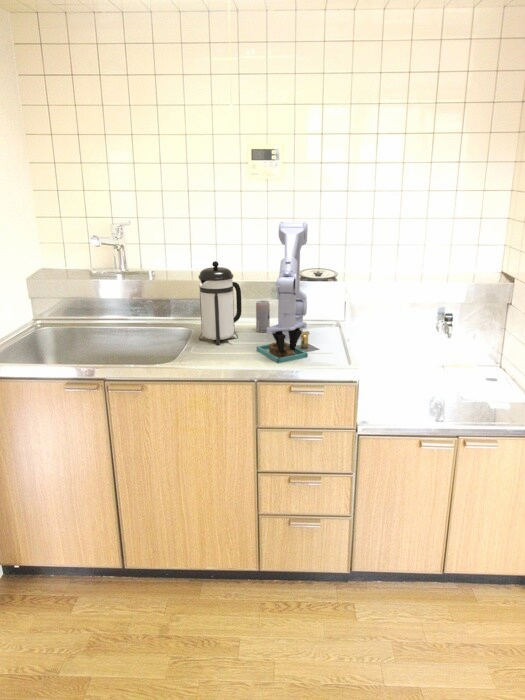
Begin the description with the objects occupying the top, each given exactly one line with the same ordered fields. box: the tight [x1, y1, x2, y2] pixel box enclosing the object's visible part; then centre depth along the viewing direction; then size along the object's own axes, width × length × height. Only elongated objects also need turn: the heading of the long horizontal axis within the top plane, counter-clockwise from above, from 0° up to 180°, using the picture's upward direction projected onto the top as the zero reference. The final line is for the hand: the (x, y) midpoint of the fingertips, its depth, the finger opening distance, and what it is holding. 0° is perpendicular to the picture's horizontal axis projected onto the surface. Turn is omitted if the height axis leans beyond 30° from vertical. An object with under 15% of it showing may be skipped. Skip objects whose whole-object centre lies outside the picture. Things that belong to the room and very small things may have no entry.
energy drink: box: [255, 300, 271, 334], centre depth 205 cm, size 5×5×12 cm
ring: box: [268, 342, 295, 358], centre depth 177 cm, size 11×7×3 cm, turn 29°
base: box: [296, 343, 321, 353], centre depth 183 cm, size 8×8×1 cm
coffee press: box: [198, 260, 242, 346], centre depth 194 cm, size 17×16×30 cm
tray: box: [256, 340, 309, 364], centre depth 178 cm, size 15×12×2 cm
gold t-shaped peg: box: [300, 330, 310, 349], centre depth 182 cm, size 2×3×6 cm
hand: (286, 351), depth 174 cm, fingers open, 4 cm apart
